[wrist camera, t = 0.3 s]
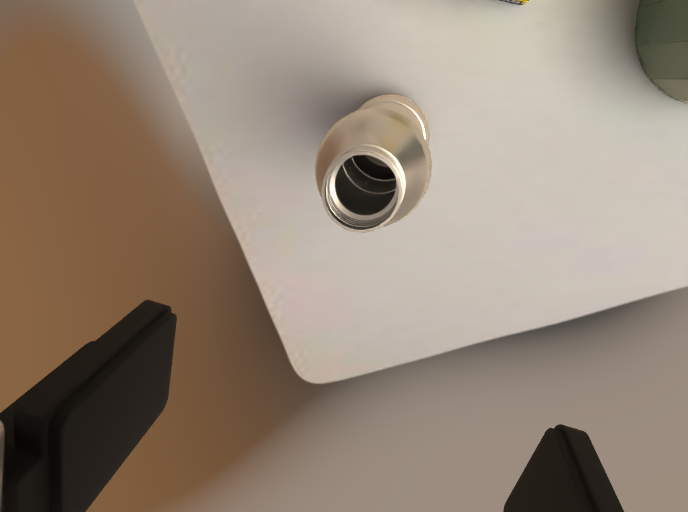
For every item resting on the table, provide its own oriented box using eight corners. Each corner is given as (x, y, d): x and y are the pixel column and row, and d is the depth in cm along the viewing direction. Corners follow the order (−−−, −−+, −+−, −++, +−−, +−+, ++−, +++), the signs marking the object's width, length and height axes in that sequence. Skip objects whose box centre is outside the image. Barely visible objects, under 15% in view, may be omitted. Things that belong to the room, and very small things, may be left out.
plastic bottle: (444, 115, 37) (468, 157, 18) (403, 187, 39) (390, 286, 21) (374, 78, 36) (328, 83, 18) (338, 153, 39) (267, 223, 21)
